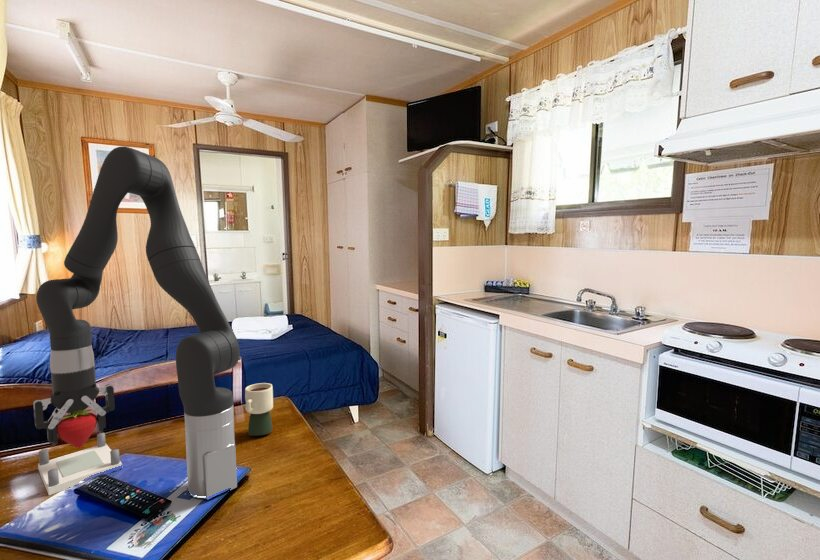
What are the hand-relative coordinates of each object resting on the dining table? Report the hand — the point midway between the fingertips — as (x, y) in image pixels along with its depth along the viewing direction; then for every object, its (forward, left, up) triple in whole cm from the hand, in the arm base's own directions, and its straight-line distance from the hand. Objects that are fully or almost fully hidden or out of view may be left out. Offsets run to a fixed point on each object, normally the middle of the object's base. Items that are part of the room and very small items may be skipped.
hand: (78, 436), depth 90 cm
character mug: (-15, -36, -8) cm, 40 cm away
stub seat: (0, 0, -8) cm, 8 cm away
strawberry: (0, 0, -3) cm, 3 cm away
